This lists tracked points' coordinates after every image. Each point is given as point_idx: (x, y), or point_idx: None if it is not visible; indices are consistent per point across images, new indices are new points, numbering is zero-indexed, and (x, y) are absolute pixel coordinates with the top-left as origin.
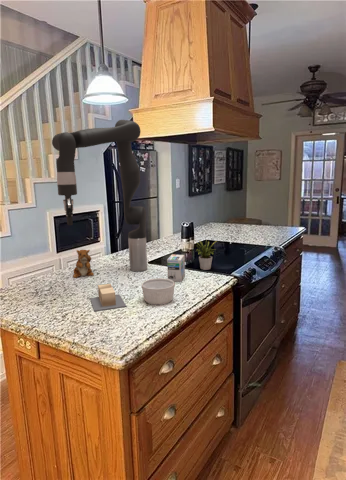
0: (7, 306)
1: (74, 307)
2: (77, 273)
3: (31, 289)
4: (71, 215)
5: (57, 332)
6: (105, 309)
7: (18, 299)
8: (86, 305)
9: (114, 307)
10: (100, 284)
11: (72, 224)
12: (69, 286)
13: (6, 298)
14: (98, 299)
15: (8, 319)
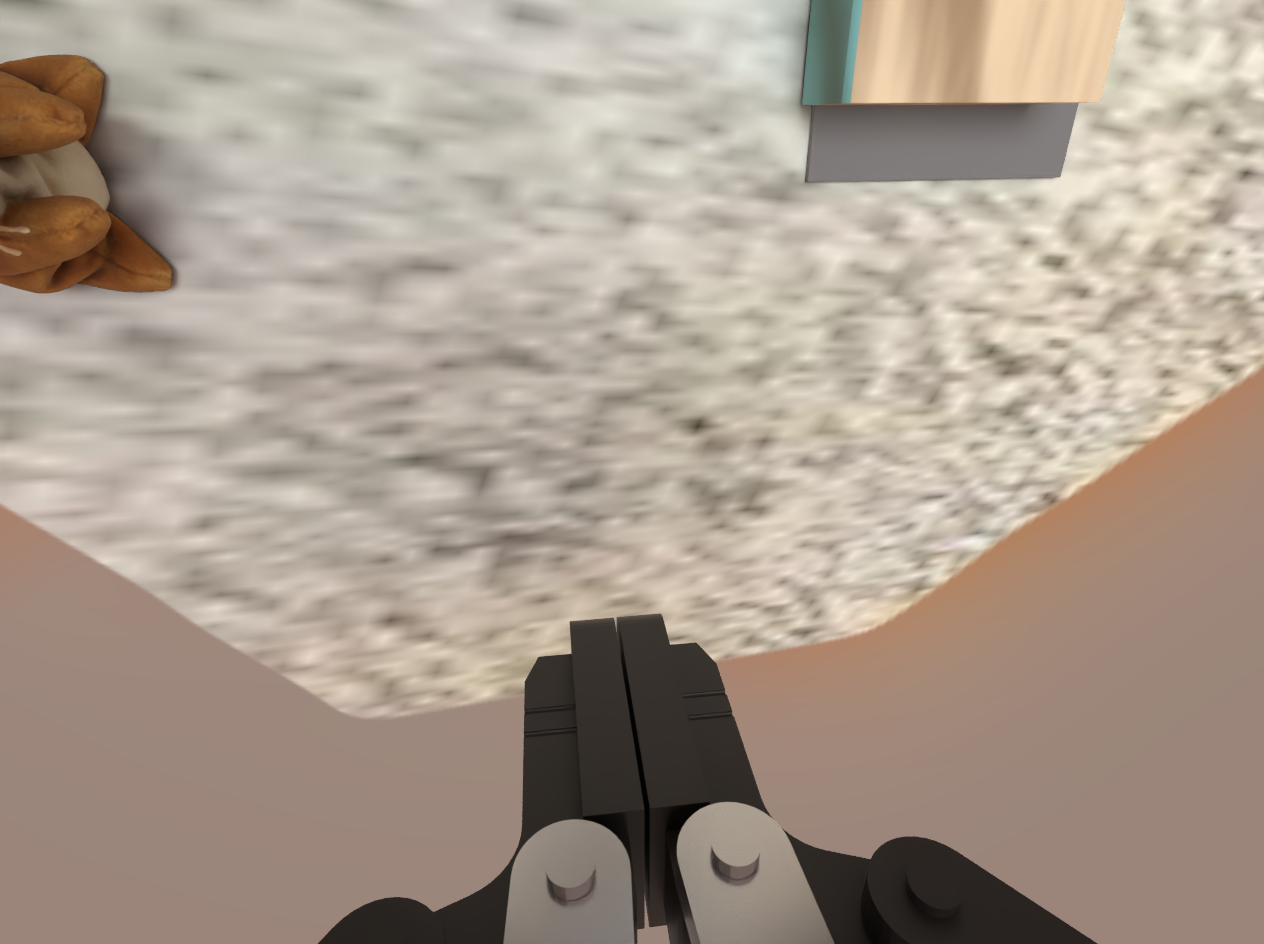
0: None
1: (909, 303)
2: (102, 250)
3: (428, 580)
4: (776, 853)
5: (1183, 395)
6: None
7: None
8: (917, 220)
9: None
10: (849, 74)
11: (661, 620)
12: (430, 328)
13: None
14: (872, 116)
15: (889, 616)
